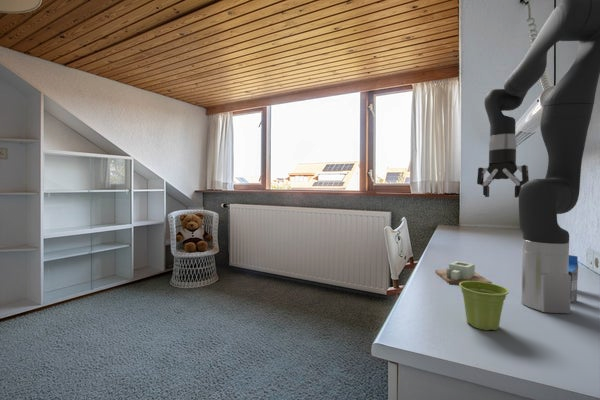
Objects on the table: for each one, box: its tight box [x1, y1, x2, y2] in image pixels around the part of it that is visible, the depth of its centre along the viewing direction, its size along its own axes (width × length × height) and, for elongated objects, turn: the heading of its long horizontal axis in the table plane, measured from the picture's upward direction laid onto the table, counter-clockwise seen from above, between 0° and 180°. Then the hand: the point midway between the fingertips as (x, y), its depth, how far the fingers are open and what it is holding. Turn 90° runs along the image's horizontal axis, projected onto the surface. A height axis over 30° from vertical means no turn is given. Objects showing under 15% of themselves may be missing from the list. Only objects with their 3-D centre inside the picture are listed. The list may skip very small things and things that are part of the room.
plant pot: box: [458, 281, 510, 331], centre depth 66 cm, size 9×9×9 cm
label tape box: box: [568, 254, 579, 303], centre depth 83 cm, size 9×4×12 cm, turn 27°
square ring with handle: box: [448, 260, 476, 280], centre depth 99 cm, size 10×6×4 cm, turn 131°
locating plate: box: [435, 265, 493, 285], centre depth 101 cm, size 13×13×4 cm
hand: (501, 197), depth 99 cm, fingers open, 8 cm apart
